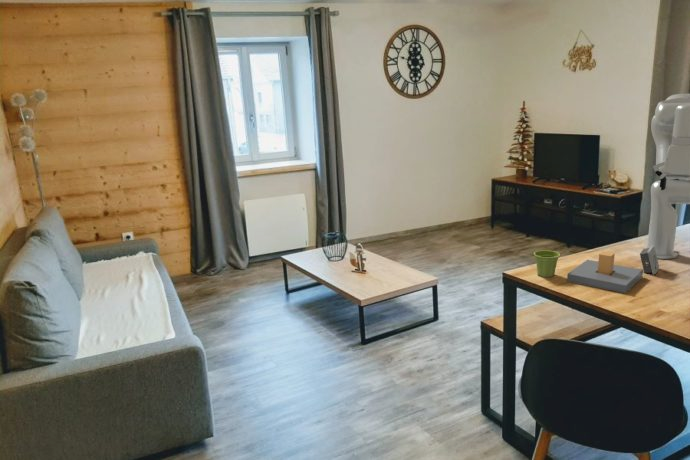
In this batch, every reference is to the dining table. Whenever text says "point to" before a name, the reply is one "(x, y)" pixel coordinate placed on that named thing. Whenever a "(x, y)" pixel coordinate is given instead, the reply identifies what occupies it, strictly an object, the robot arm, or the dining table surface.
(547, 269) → the plant pot
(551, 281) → the dining table surface
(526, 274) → the dining table surface
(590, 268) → the socket plate
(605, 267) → the plug
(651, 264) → the electrical switch
